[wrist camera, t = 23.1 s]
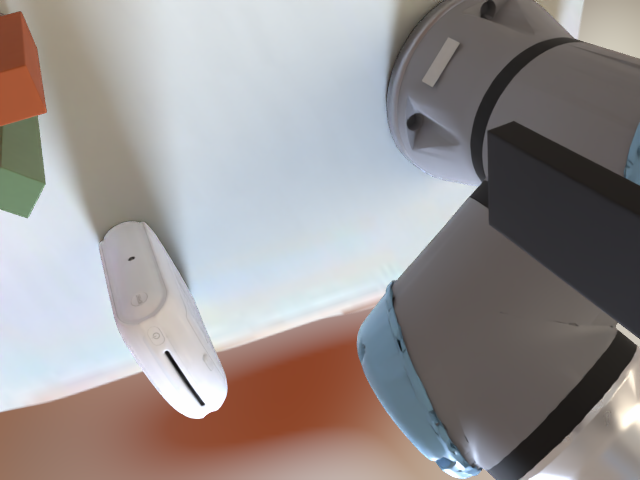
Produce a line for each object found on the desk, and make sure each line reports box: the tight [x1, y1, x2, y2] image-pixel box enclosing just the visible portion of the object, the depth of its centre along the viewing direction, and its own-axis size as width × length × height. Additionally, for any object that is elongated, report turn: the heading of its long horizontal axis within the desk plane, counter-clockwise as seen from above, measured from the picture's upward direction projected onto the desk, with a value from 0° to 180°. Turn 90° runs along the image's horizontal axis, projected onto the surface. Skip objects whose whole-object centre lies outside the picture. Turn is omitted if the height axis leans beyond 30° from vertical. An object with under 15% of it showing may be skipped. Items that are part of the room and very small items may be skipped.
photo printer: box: [99, 221, 227, 418], centre depth 42 cm, size 10×4×12 cm, turn 17°
